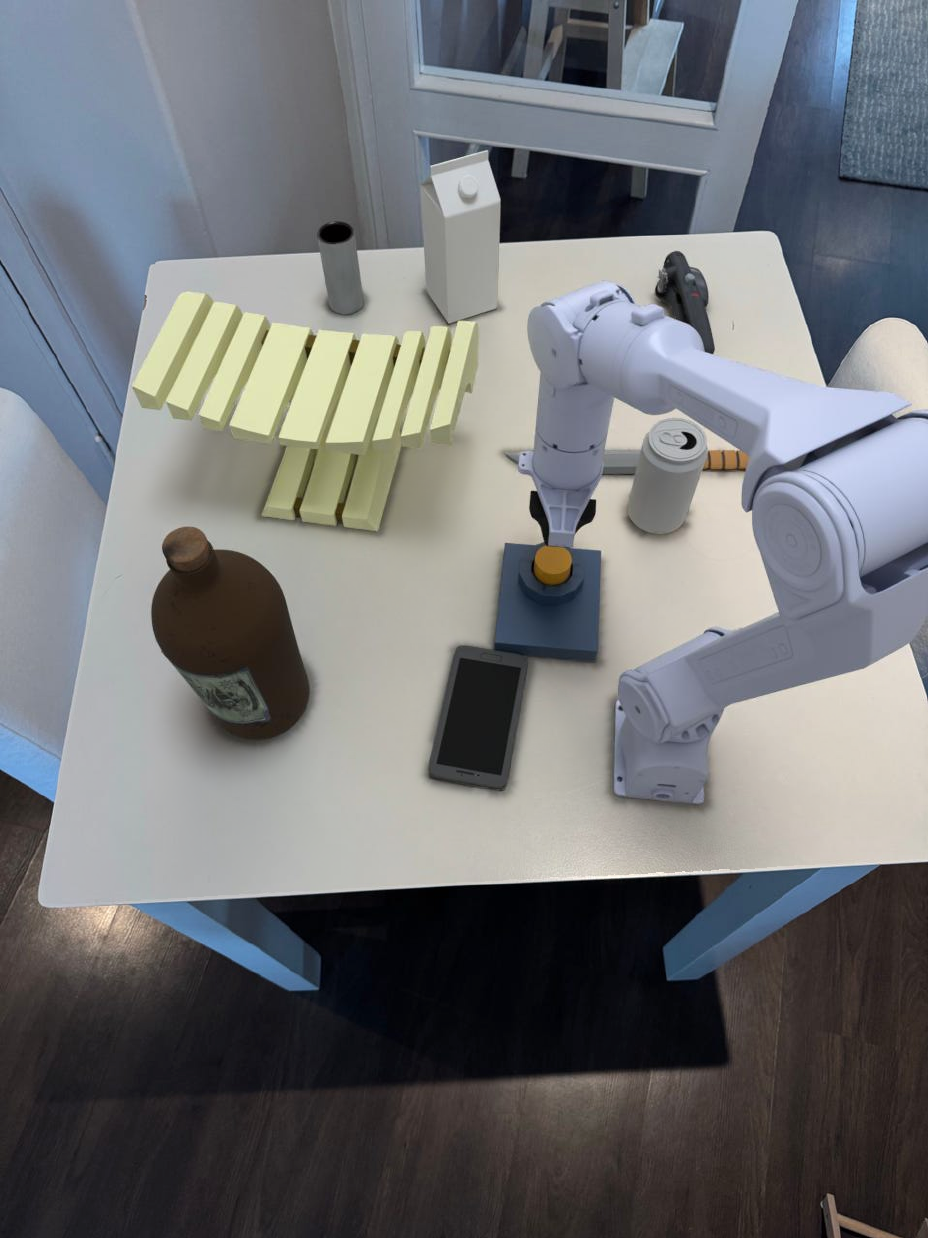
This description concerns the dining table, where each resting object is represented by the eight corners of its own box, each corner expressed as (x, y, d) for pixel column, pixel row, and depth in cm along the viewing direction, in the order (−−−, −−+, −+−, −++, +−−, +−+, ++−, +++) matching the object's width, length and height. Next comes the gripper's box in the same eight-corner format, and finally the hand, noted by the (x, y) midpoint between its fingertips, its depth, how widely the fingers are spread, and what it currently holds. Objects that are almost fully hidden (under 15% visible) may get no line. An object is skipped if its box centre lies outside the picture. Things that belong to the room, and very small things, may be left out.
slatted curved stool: (477, 432, 98) (478, 305, 83) (454, 541, 90) (450, 423, 75) (232, 403, 101) (189, 275, 85) (188, 506, 93) (131, 385, 77)
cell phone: (529, 658, 82) (529, 655, 82) (505, 792, 75) (506, 789, 75) (456, 646, 83) (456, 642, 83) (426, 777, 76) (425, 774, 76)
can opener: (646, 281, 111) (654, 243, 107) (698, 278, 112) (708, 240, 107) (670, 375, 102) (680, 338, 97) (727, 372, 102) (739, 335, 98)
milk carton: (426, 292, 111) (417, 149, 94) (474, 276, 112) (474, 134, 96) (448, 325, 107) (443, 183, 91) (497, 308, 109) (502, 166, 93)
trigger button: (568, 587, 83) (571, 575, 81) (532, 584, 83) (533, 572, 81) (570, 557, 84) (572, 545, 83) (535, 554, 85) (536, 542, 83)
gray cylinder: (322, 308, 109) (309, 237, 100) (341, 287, 111) (329, 216, 103) (352, 318, 108) (341, 247, 99) (370, 298, 110) (361, 226, 101)
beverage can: (682, 542, 90) (709, 467, 79) (622, 532, 90) (641, 457, 80) (686, 496, 93) (713, 418, 82) (628, 487, 93) (647, 409, 83)
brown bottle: (229, 638, 84) (145, 474, 63) (330, 658, 83) (279, 498, 61) (189, 734, 79) (81, 591, 57) (295, 757, 78) (226, 620, 56)
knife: (504, 476, 94) (504, 441, 96) (504, 483, 95) (504, 448, 97) (778, 475, 92) (771, 439, 95) (775, 482, 93) (768, 447, 96)
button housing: (595, 662, 82) (600, 642, 79) (494, 653, 83) (494, 633, 79) (598, 562, 88) (603, 539, 85) (504, 554, 89) (505, 531, 86)
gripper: (527, 358, 70) (520, 466, 82) (514, 493, 63) (508, 591, 74) (612, 363, 69) (592, 472, 81) (608, 500, 62) (587, 597, 74)
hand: (557, 529), depth 78 cm, fingers open, 3 cm apart
